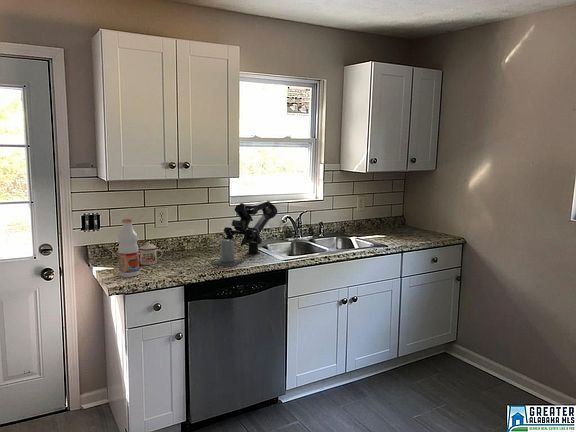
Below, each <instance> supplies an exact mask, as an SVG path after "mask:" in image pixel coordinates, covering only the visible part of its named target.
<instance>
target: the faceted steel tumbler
mask: <svg viewBox="0 0 576 432" xmlns="http://www.w3.org/2000/svg"><path fill="white" fill-rule="evenodd" d="M220 259H221V262H222V263H233V262H234V259H235V240H234V239H233V238H232V239H227V238H224V239H221V240H220Z"/></svg>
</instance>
